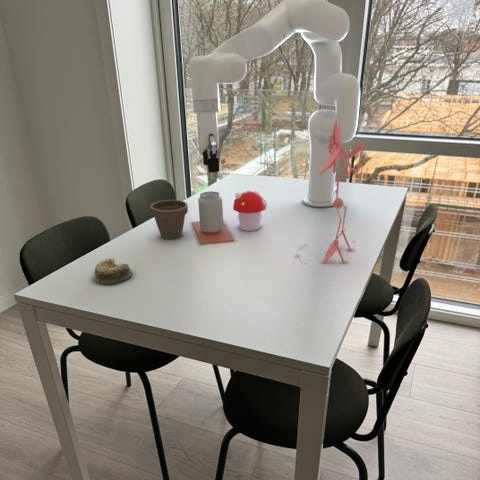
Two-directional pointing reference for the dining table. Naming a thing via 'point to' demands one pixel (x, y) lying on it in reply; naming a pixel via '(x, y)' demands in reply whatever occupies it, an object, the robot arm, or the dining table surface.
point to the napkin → (212, 235)
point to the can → (210, 212)
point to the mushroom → (249, 209)
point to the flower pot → (169, 217)
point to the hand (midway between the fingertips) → (211, 168)
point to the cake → (111, 272)
